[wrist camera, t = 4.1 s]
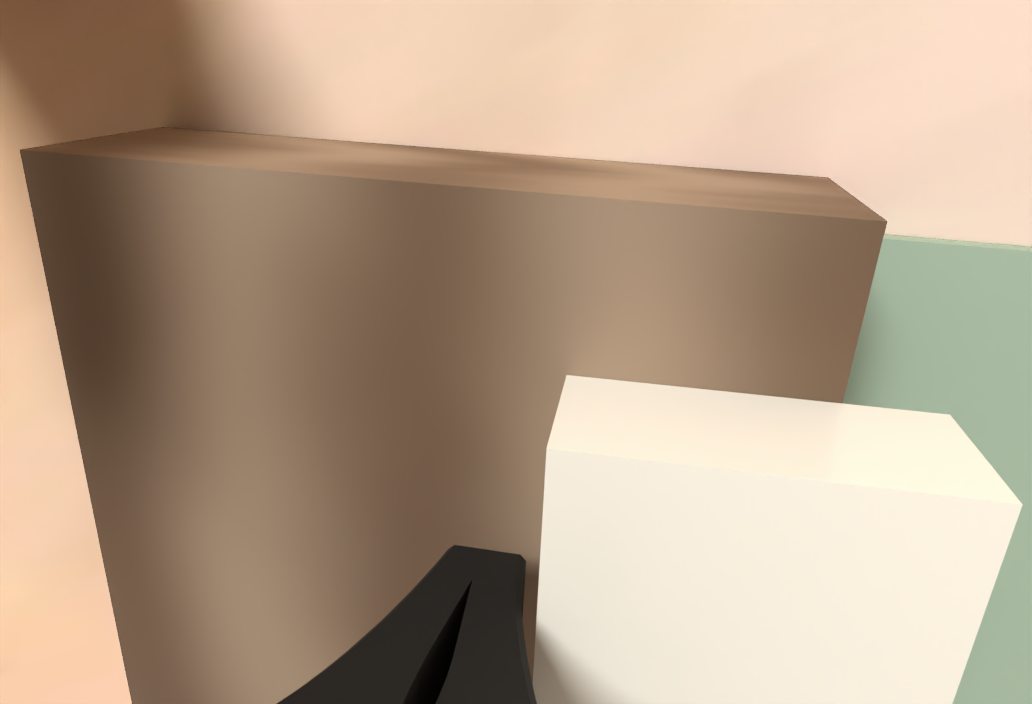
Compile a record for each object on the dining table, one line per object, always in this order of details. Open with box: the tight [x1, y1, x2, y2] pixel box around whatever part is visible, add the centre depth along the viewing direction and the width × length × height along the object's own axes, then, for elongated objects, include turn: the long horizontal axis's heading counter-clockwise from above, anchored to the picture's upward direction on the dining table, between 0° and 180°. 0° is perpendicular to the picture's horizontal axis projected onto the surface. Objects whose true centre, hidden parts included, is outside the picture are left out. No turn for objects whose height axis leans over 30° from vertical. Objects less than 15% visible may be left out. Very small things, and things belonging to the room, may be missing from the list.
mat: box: [843, 234, 1032, 704], centre depth 16 cm, size 11×12×1 cm
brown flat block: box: [20, 127, 887, 704], centre depth 17 cm, size 14×16×4 cm
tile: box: [533, 375, 1023, 704], centre depth 12 cm, size 6×8×2 cm
